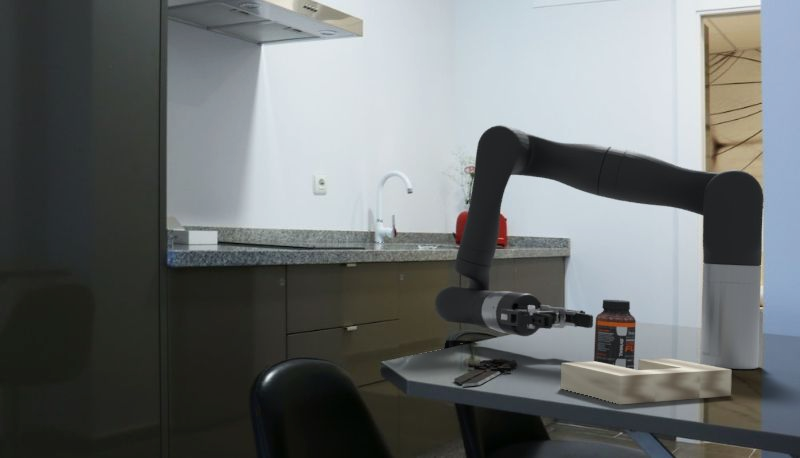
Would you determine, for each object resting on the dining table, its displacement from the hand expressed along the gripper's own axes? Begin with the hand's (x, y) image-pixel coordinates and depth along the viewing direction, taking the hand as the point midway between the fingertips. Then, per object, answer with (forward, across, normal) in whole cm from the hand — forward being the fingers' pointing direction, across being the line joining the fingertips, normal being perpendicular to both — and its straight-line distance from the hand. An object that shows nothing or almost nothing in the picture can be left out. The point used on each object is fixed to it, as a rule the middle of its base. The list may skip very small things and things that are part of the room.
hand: (571, 321), depth 136 cm
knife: (+5, -20, +8) cm, 22 cm away
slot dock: (+24, -7, +7) cm, 26 cm away
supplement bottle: (+10, 0, +7) cm, 12 cm away
